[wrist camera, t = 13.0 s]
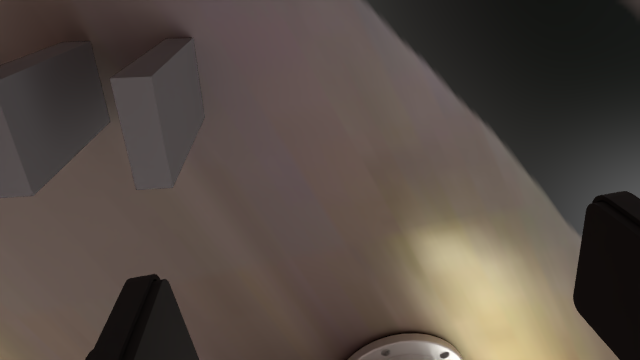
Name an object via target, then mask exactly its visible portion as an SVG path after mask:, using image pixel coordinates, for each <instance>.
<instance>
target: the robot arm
mask: <svg viewBox="0 0 640 360" xmlns="http://www.w3.org/2000/svg"><path fill="white" fill-rule="evenodd" d="M573 300H574V304H575V307H576V309H577V311H578V312H579V313H580V315H581V316H582V317H583V318H584V319H585V320H586V321H587V323H588V324H589V325H590V326H591V327H592V328H593V330H594V331H595V332H596V333H597V334H598V335H599V336H600V338H601V339H602V340H603V341H604V342H605V343H606V344H607V346H608V347H609V348H610V349H611V350H612V351H613V352H614V354H615V355H616V356H617V357H618V358H619V359H620V360H640V199H639V198H638V197H636V196H635V195H633V194H632V193H629V192H627V191H623V192H616V193H610V194H605V195H600V196H597V197H595V199H594V200H593V202H592V204H589V205H588V207H587V209H586V215H585V221H584V229H583V235H582V241H581V248H580V255H579V261H578V268H577V275H576V281H575V288H574V294H573ZM85 360H199V358H198V356H197V353H196V350H195V348H194V345H193V343H192V340H191V338H190V335H189V333H188V330H187V327H186V325H185V322H184V320H183V317H182V315H181V312H180V309H179V307H178V304H177V302H176V299H175V297H174V294H173V292H172V289H171V286H170V284H169V282H168V281H167V280H166V279H162V280H160V278H159V277H158V276H157V275H156V274H152V275H147V276H141V277H135V278H130V279H128V280H127V281H126V283H125V284H124V286H123V289H122V291H121V293H120V295H119V297H118V299H117V301H116V303H115V305H114V307H113V310H112V312H111V314H110V316H109V318H108V320H107V322H106V324H105V326H104V328H103V331H102V333H101V335H100V337H99V339H98V341H97V343H96V345H95V347H94V349H93V350H92V351H90V353H89V354H88V356H87V357H86V359H85ZM348 360H463V358H462V356H461V355H460V353H459V352H458V350H457V349H456V348H455V347H453V346H452V345H451V344H450V343H448V342H446V341H444V340H443V339H441V338H438V337H434V336H431V335H426V334H418V333H411V334H399V335H393V336H388V337H385V338H382V339H379V340H376V341H374V342H372V343H370V344H368V345H366V346H364V347H363V348H361V349H360V350H358V351H357V352H355V353H354V354H353V355H352V356H351V357H350V358H349V359H348Z"/></svg>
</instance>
